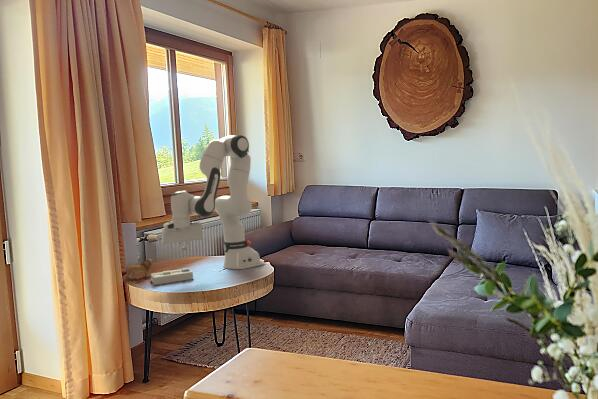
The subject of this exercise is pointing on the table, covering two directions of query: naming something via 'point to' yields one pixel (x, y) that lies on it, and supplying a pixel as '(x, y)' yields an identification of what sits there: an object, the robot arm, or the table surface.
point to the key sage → (166, 272)
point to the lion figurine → (140, 268)
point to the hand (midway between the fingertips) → (183, 250)
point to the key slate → (184, 269)
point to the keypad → (171, 277)
